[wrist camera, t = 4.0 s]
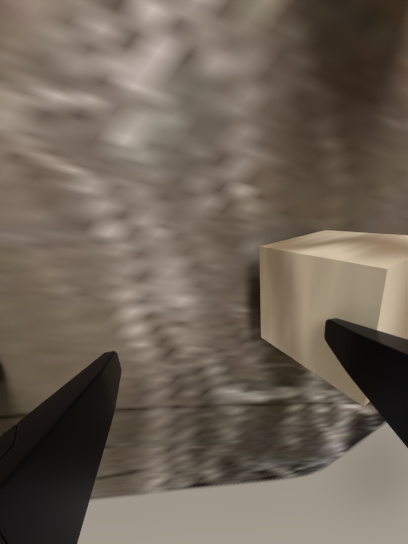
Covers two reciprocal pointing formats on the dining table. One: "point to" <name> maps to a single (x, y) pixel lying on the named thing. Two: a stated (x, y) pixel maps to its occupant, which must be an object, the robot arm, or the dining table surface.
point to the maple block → (332, 294)
